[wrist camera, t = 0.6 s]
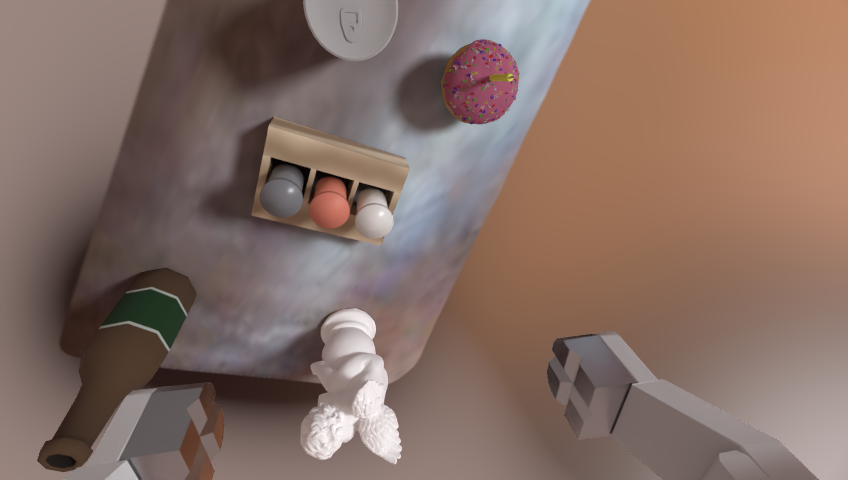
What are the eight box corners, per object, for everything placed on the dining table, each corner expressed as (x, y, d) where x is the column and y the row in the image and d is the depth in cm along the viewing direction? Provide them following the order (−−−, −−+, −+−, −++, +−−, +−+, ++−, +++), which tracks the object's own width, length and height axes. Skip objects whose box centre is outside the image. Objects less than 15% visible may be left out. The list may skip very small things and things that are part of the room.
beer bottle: (165, 256, 51) (50, 421, 31) (210, 294, 55) (134, 462, 35) (119, 284, 52) (-23, 463, 32) (167, 319, 56) (68, 498, 36)
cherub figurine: (308, 343, 63) (290, 484, 45) (324, 282, 58) (311, 414, 39) (381, 352, 67) (393, 486, 48) (402, 295, 61) (425, 422, 43)
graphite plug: (272, 156, 44) (263, 175, 39) (310, 167, 45) (306, 186, 40) (265, 190, 45) (256, 211, 41) (302, 199, 47) (297, 221, 42)
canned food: (326, 57, 43) (322, 72, 34) (299, -31, 38) (285, -41, 29) (394, 39, 43) (409, 49, 34) (374, -50, 39) (385, -66, 30)
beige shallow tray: (274, 116, 45) (268, 125, 42) (405, 157, 50) (409, 169, 47) (257, 200, 50) (251, 215, 46) (378, 230, 55) (381, 245, 51)
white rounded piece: (359, 181, 47) (361, 201, 42) (392, 190, 48) (398, 211, 44) (349, 211, 49) (350, 234, 44) (382, 219, 50) (386, 242, 45)
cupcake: (449, 25, 43) (482, 32, 33) (515, 52, 46) (564, 66, 36) (424, 103, 47) (446, 130, 37) (486, 123, 50) (523, 154, 40)
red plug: (317, 169, 45) (314, 188, 41) (353, 179, 47) (354, 199, 42) (309, 201, 47) (305, 223, 42) (343, 210, 48) (343, 232, 44)
